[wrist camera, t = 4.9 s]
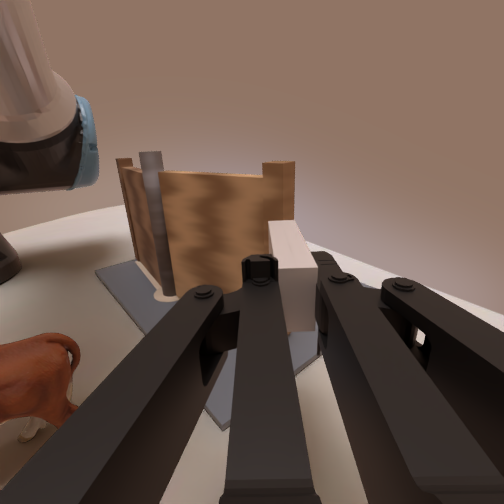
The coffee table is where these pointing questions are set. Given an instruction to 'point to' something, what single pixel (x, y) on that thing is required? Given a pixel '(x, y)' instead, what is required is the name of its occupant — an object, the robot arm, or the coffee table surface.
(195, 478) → the coffee table surface
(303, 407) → the coffee table surface
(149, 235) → the rod
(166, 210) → the fence panel
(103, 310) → the coffee table surface
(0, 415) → the bull figurine
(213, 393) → the board
